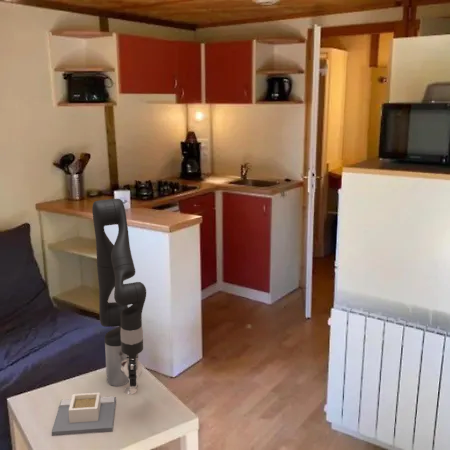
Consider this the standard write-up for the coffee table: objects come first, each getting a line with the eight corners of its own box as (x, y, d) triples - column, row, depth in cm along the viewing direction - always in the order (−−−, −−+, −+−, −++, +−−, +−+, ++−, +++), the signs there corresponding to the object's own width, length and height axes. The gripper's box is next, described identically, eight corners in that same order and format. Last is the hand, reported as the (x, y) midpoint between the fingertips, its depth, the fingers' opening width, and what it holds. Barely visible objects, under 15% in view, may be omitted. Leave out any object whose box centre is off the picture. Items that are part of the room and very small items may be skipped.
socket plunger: (76, 403, 186) (76, 399, 185) (96, 402, 187) (96, 398, 186) (73, 415, 179) (73, 411, 179) (94, 413, 180) (94, 410, 180)
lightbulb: (134, 380, 187) (133, 353, 184) (146, 387, 183) (145, 360, 180) (120, 388, 182) (119, 361, 179) (132, 395, 178) (131, 367, 175)
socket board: (61, 403, 191) (59, 388, 189) (116, 400, 194) (115, 385, 192) (51, 435, 174) (50, 419, 172) (112, 431, 176) (111, 414, 175)
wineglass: (141, 386, 203) (140, 358, 200) (136, 396, 196) (135, 368, 193) (124, 384, 204) (123, 357, 200) (119, 394, 197) (117, 366, 194)
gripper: (121, 328, 183) (123, 369, 188) (119, 349, 169) (121, 393, 174) (143, 327, 184) (144, 368, 189) (142, 348, 171) (144, 391, 175)
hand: (133, 380), depth 182 cm, fingers closed on lightbulb, 6 cm apart
